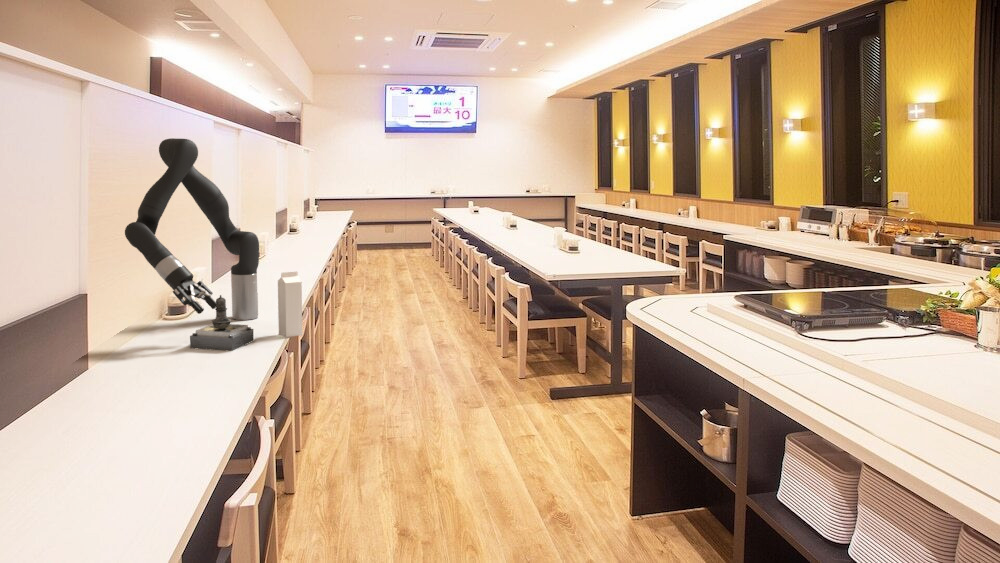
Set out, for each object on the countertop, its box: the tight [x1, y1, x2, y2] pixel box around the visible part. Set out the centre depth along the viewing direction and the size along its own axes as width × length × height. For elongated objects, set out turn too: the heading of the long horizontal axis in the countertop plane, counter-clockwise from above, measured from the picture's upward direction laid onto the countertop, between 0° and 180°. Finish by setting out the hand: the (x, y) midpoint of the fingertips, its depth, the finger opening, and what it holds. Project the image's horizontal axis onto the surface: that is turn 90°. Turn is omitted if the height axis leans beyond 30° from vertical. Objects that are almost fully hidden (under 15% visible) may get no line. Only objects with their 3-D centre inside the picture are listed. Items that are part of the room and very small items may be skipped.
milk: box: [277, 271, 303, 338], centre depth 236 cm, size 6×6×22 cm
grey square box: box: [189, 323, 254, 352], centre depth 221 cm, size 14×14×6 cm
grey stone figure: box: [211, 294, 232, 332], centre depth 220 cm, size 6×6×12 cm
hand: (208, 309), depth 221 cm, fingers open, 8 cm apart
